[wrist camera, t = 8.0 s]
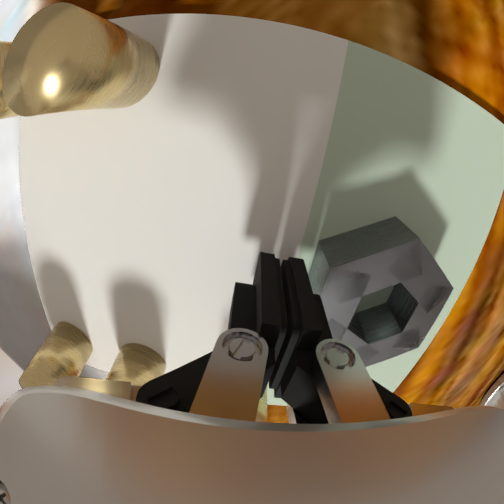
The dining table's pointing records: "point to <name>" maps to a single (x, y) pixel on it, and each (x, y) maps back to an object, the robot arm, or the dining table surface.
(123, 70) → the spacers
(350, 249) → the nut
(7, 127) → the dining table surface
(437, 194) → the mat
